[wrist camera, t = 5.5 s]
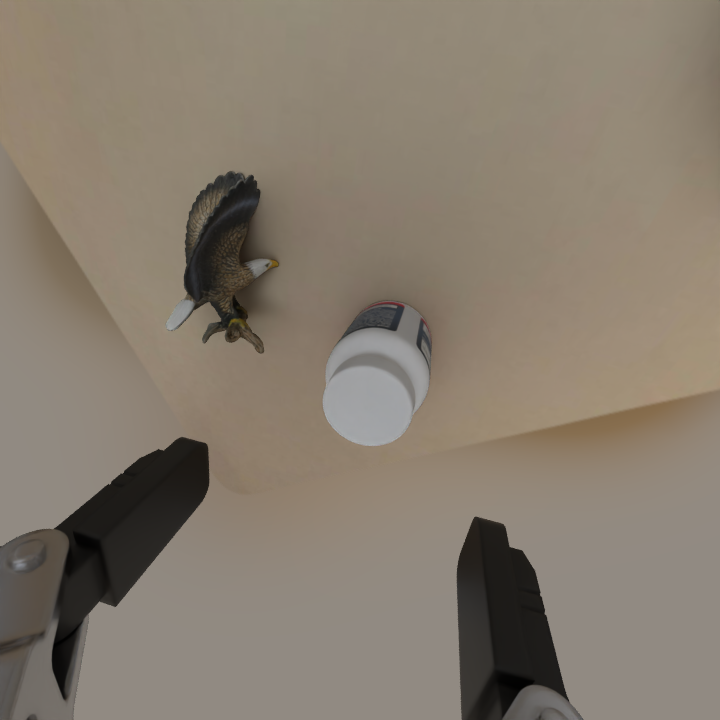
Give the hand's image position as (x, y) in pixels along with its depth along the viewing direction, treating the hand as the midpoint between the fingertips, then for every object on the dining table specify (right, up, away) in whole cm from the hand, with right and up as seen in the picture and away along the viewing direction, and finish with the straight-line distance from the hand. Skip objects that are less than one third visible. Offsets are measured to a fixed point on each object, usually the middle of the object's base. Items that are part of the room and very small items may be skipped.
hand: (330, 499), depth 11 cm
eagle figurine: (-6, +11, +13) cm, 18 cm away
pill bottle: (+3, +5, +13) cm, 15 cm away
